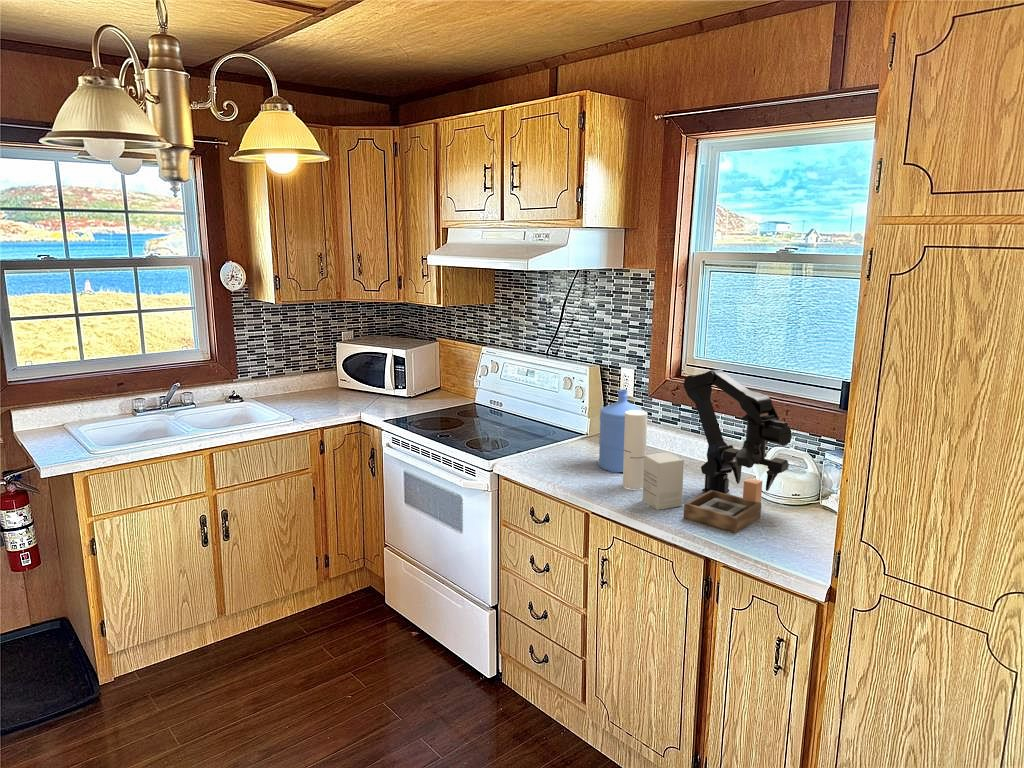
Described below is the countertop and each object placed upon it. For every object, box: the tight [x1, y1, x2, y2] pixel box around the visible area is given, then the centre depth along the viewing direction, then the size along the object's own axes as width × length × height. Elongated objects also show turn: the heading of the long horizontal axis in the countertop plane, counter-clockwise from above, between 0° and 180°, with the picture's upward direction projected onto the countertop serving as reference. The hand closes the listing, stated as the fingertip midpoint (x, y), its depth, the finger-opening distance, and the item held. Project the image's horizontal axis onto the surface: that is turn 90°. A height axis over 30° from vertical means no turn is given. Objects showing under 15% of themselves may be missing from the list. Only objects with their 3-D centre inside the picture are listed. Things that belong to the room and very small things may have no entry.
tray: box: [683, 490, 762, 535], centre depth 202 cm, size 16×16×4 cm
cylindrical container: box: [622, 410, 648, 490], centre depth 227 cm, size 7×7×25 cm
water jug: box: [598, 389, 644, 473], centre depth 247 cm, size 16×16×28 cm
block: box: [742, 477, 763, 504], centre depth 211 cm, size 4×4×8 cm
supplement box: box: [642, 451, 685, 511], centre depth 213 cm, size 9×9×15 cm
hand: (752, 486), depth 211 cm, fingers open, 9 cm apart
